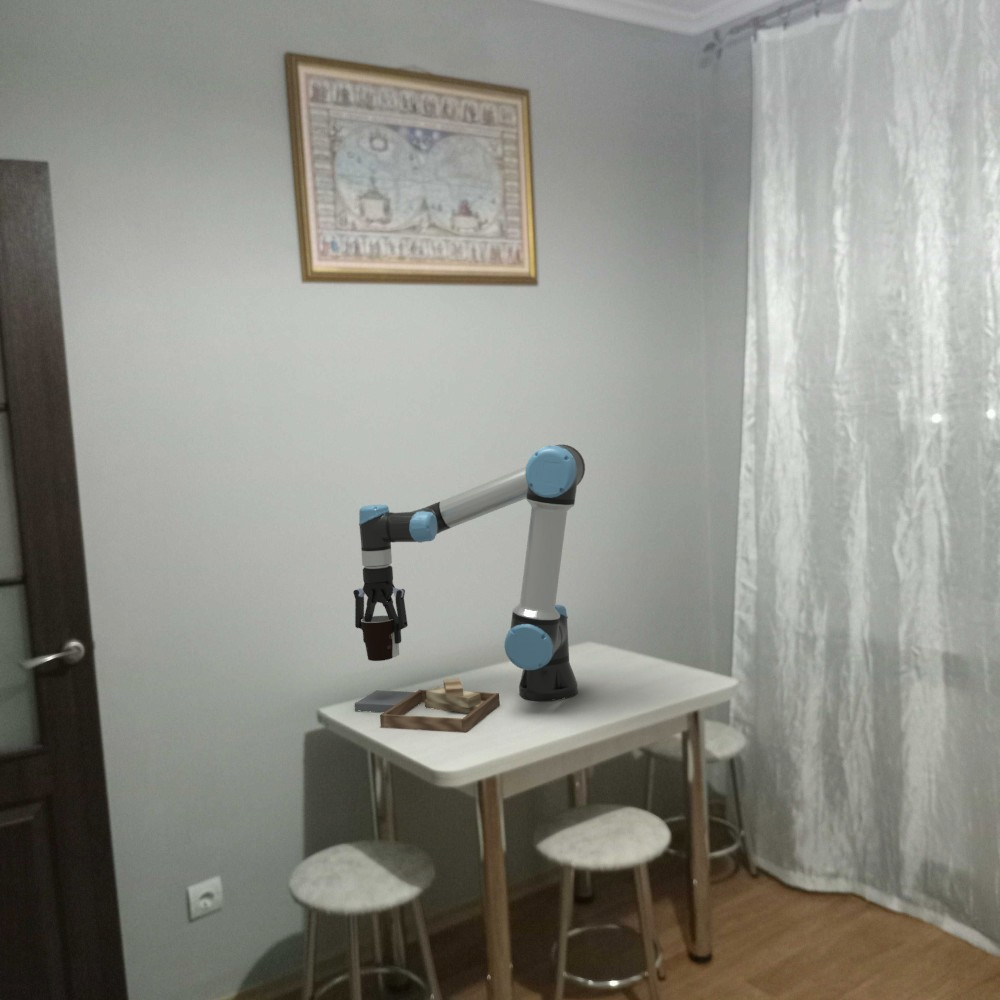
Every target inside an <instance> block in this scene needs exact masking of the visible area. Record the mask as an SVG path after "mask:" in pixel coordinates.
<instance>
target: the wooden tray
mask: <svg viewBox="0 0 1000 1000" xmlns="http://www.w3.org/2000/svg"><path fill="white" fill-rule="evenodd" d="M427 690H428V689H418V690H416V691H414V692H415V693H413V694H412V695H410V696H409V697H407V698H406V699H404V700H402V701H401V702H399V703H398V704H396V705H395V706H393V707H391V708H390V709H388V710H387V711H385V712H384V713H380V715H379V722H380V728H384V727H385V728H387V729H388V728H389V729H405V730H418V729H421V730H423V731H436V732H437V731H439V732H454V733H467V732H469V731H470V730H471V729H472V728H474V727H475V726H476V725H477V724H478V723H480V722H481V721H482V720H483V719H484V718H486V717H487V716H489V714H491V713H492V712H493V711H494V710H495V709H496V708H498V707H499V706H500V703H501V702H500V701H501V700H500V692H484V691H483V692H482V691H479V692H478V691H473V692H474V693H480V696H481V701H484V702H483V703H482V704H480V705H479V706H478V707H477V708H475V709H474V710H473V711H471V712H470V713H467V714H466V715H465V716H464V717H461V718H459V717H444V716H443V717H442V716H424V715H408V714H407V713H408V712H410V711H411V710H413V709H414V708H416V707H418V706H419V705H420V704H422V703H425V700H427V698H426V691H427ZM421 702H422V703H421ZM418 704H419V705H418ZM406 714H407V715H406ZM385 728H384V729H385Z"/></svg>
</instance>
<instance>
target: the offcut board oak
mask: <svg viewBox="0 0 1000 1000" xmlns="http://www.w3.org/2000/svg"><path fill="white" fill-rule="evenodd" d="M483 702H484V701H481V703H480V704H482V703H483ZM480 704H478V705H475V706H473V707H470V708H466V707H461V706H455V705H449V704H444V703H438V702H433V701H427V700H425V702H424V708H425V707H426V708H425V709H431V708H434V709H433V710H440V709H441V711H448V710H449V711H448V712H450V711H451V712H456V711H457V712H458V713H466V714H469V713H470V712H471V711H473V710H474V709H475V708H477V707H478V706H479V705H480ZM457 712H456V713H457Z"/></svg>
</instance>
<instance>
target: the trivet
mask: <svg viewBox="0 0 1000 1000" xmlns="http://www.w3.org/2000/svg"><path fill="white" fill-rule="evenodd" d="M415 692H416V691H400V690H399V691H397V690H396V691H395V690H375V691H373V692H371V693H370V694H367V695H366V696H365V697H363V698H361V699H359V700H358V701H356V702H355V703H353V704H354V711H355V710H361V711H360V712H363V711H371V712H370V713H381V712H385V711H387V710H388V709H390V708H391V707H393V706H395V705H396V704H398V703H399V702H401V701H402V700H404V699H406V698H407V697H409V696H410V695H412V694H413V693H415Z"/></svg>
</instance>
